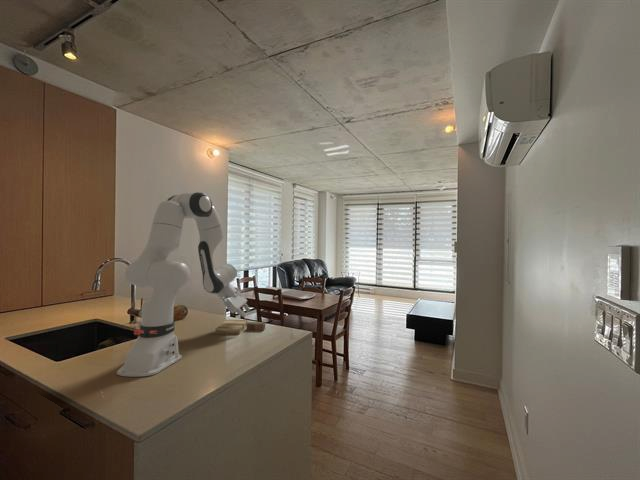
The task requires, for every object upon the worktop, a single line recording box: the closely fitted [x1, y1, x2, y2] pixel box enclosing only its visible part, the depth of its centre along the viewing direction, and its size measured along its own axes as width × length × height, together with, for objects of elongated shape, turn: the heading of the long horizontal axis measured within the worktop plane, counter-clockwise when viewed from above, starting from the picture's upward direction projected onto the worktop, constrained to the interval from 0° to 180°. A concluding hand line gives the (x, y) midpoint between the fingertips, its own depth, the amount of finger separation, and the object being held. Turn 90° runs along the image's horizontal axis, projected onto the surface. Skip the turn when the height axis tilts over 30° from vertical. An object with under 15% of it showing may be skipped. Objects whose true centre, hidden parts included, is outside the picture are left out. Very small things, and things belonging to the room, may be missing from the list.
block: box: [246, 321, 266, 332], centre depth 152 cm, size 4×4×9 cm
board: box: [214, 319, 249, 335], centre depth 153 cm, size 16×12×2 cm
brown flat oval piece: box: [173, 304, 189, 321], centre depth 167 cm, size 15×3×8 cm, turn 143°
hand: (246, 313), depth 153 cm, fingers open, 8 cm apart
